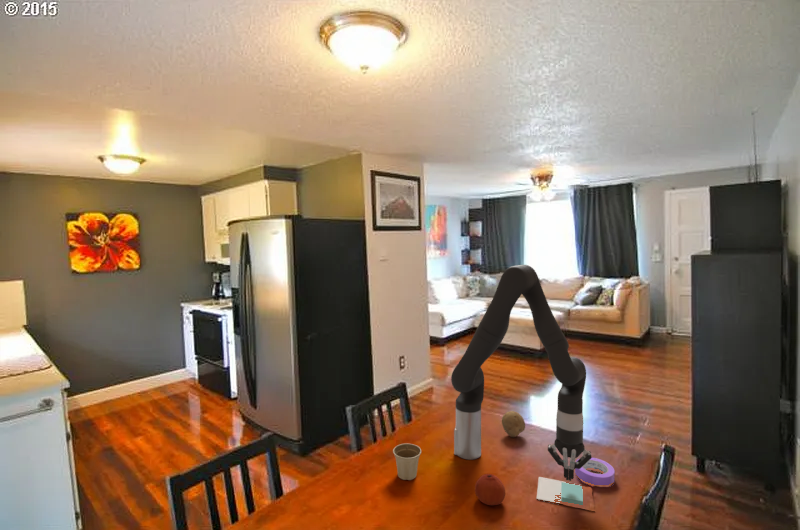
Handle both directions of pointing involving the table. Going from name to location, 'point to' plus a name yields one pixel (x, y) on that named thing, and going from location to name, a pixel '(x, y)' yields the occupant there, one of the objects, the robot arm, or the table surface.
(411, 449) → the flower pot
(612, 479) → the masking tape
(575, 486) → the tile
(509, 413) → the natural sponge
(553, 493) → the mat
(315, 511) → the table surface
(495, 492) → the fruit
